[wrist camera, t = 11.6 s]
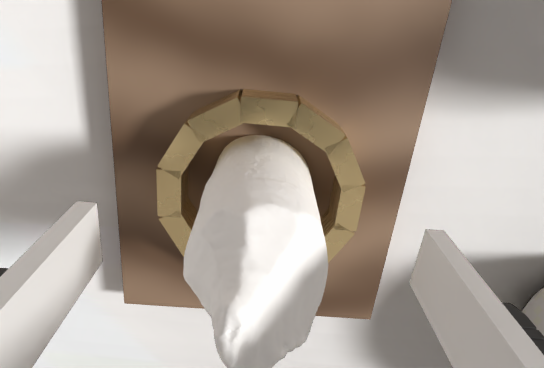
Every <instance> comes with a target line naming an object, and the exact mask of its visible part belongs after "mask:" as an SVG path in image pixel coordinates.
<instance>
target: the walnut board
mask: <svg viewBox="0 0 544 368" xmlns="http://www.w3.org/2000/svg"><path fill="white" fill-rule="evenodd" d="M451 3H452V0H102V12H103V25H104V38H105V51H106V65H107V78H108V91H109V104H110V118H111V131H112V144H113V157H114V171H115V184H116V197H117V210H118V224H119V237H120V250H121V263H122V277H123V290H124V303H127V304H142V305H158V306H173V307H188V308H204V307H203V306H202V304H201V302H200V300H199V298H198V297H197V296H196V294H195V293H194V292H193V290H192V289H191V287H190V286H189V285H188V283H187V282H186V281H185V279H184V276H183V269H184V257H183V255H182V254H181V252H180V251H179V249H178V248H177V246H176V245H175V243H174V242H173V240H172V239H171V237H170V236H169V234H168V233H167V231H166V230H165V228H164V227H163V225H162V224H161V222H160V220H159V217H160V216H158V212H157V176H156V169H157V168H158V164H159V162H160V161H161V159H162V158H163V156H164V155H165V153H166V151H167V150H168V148H169V147H170V145H171V144H172V142H173V140H174V139H175V137H176V136H177V134H178V132H179V131H180V129H181V128H182V126H183V125H184V123H185V122H186V120H187V119H188V118H189V116H190V115H191V114H193V112H194V111H196V110H198V109H200V108H202V107H204V106H206V105H208V104H210V103H213V102H215V101H217V100H219V99H221V98H223V97H225V96H227V95H229V94H232V93H234V92H236V91H238V90H241V92H243V89H250V90H261V91H271V92H282V93H293V94H295V95H296V97H297V96H298V95H299V96H301V97H302V98H303V99H305V100H306V101H307V102H309V103H310V104H312V105H313V106H314V107H316V108H317V109H318V110H320V111H321V112H322V113H324V114H325V115H327V116H328V117H329V118H331V119H332V120H333V121H335V122H336V123H338V124H339V126H340V127H341V128H342V130H343V131H344V133H345V135H346V136H347V138H348V140H349V142H350V145H351V148H352V150H353V153H354V155H355V158H356V160H357V163H358V165H359V168H360V171H361V173H362V176H363V178H364V181H365V186H366V188H365V193H364V197H363V202H362V207H361V212H360V216H359V221H358V226H357V230H356V231H354V233H355V234H354V236H353V237H352V238H351V239H350V240H349V241H348V242H347V243H346V244H345V245H344V246H343V248H342V249H341V250H340V251H339V252H338V253H337V254H336V255H335V256H334V257H333V258H332V260H331V261H330V262H329V263H328V273H327V281H326V286H325V290H324V293H323V297H322V301H321V303H320V305H319V307H318V310H317V312H316V315H315V316H327V317H342V318H357V319H370V318H371V314H372V310H373V307H374V303H375V299H376V295H377V291H378V287H379V283H380V279H381V275H382V271H383V268H384V264H385V260H386V256H387V252H388V248H389V244H390V240H391V236H392V233H393V229H394V225H395V221H396V217H397V213H398V209H399V205H400V201H401V197H402V194H403V190H404V186H405V182H406V178H407V174H408V170H409V166H410V162H411V158H412V155H413V151H414V147H415V143H416V139H417V135H418V131H419V127H420V123H421V120H422V116H423V112H424V108H425V104H426V100H427V96H428V92H429V88H430V84H431V81H432V77H433V73H434V69H435V65H436V61H437V57H438V53H439V49H440V45H441V42H442V38H443V34H444V30H445V26H446V22H447V18H448V14H449V10H450V7H451ZM248 135H266V136H271V137H274V138H277V139H280V140H283V141H284V142H286V143H288V144H290V145H291V146H292V147H294V148H295V149H296V150H297V151H298V152H299V153H300V154H301V155H302V157H303V158H304V160H305V161H306V163H307V166H308V168H309V171H310V175H311V179H312V185H313V190H314V194H315V198H316V202H317V207H318V211H319V214H320V218H321V217H322V216H323V215H324V213H325V212H326V211H327V210H328V209H329V205H330V199H331V194H332V188H333V182H334V176H335V173H334V170H333V168H332V166H331V163H330V161H329V158H328V156H327V154H326V152H325V151H324V150H322V149H321V148H319V147H318V146H316V145H315V144H314V143H312V142H311V141H309V140H308V139H306V138H305V137H304V136H302V135H301V134H299V133H298V132H296V131H295V130H294V129H292V128H291V127H283V126H272V125H261V124H250V123H243V124H241V125H239V126H237V127H235V128H232V129H230V130H228V131H226V132H224V133H221V134H219V135H217V136H215V137H213V138H211V139H208V140H206V141H204V142H203V144H202V145H201V147H200V148H199V150H198V151H197V153H196V154H195V156H194V157H193V159H192V160H191V162H190V163H189V178H188V197H189V199H190V201H191V202H192V204H193V206H194V207H195V209H196V211H197V212H198V211H199V208H200V201H201V197H202V194H203V192H204V188H205V185H206V183H207V181H208V180H209V178H210V177H211V175H212V173H213V171H214V168H215V166H216V163H217V161H218V158H219V156H220V154H221V153H222V151H223V150H224V148H225V147H226V146H227V145H228V144H229V143H230V142H232V141H234V140H235V139H237V138H240V137H244V136H248ZM204 309H205V308H204Z"/></svg>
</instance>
